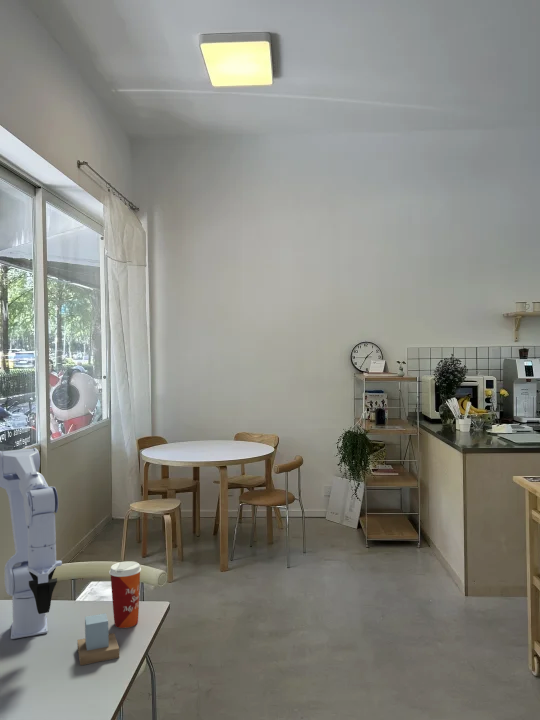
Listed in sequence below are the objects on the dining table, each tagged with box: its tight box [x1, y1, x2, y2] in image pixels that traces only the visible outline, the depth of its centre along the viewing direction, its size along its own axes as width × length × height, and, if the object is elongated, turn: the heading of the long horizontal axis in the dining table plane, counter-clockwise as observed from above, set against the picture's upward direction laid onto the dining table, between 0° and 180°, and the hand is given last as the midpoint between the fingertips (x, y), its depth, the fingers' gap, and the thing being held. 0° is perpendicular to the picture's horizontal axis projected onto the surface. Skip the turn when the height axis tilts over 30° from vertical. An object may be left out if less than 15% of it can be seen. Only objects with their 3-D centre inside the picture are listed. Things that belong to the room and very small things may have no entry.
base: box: [77, 632, 120, 666], centre depth 128 cm, size 8×8×2 cm
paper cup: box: [108, 560, 142, 629], centre depth 143 cm, size 8×8×14 cm
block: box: [84, 612, 109, 651], centre depth 128 cm, size 4×4×6 cm
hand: (43, 606), depth 129 cm, fingers open, 7 cm apart
